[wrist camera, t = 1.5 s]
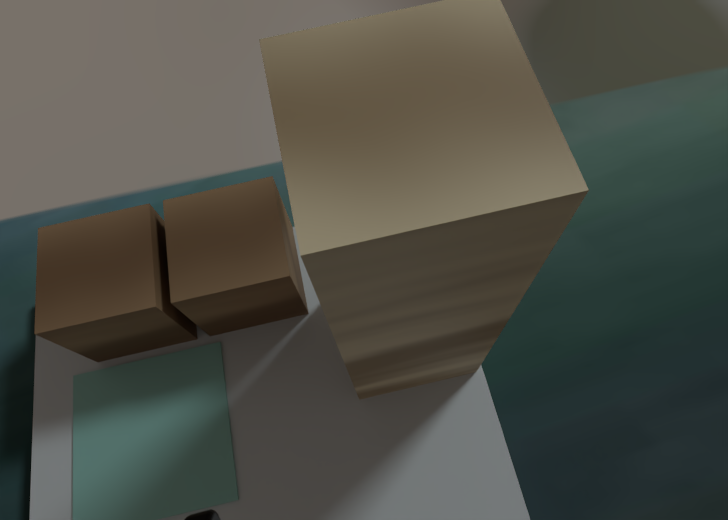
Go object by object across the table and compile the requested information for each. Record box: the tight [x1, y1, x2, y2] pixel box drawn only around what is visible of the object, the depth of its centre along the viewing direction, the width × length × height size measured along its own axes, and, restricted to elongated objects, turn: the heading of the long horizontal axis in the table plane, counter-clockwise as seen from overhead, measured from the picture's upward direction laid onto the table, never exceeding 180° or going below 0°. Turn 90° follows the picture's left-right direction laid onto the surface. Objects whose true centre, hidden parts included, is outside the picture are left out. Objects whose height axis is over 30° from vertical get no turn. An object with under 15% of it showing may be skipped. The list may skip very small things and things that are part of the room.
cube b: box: [163, 177, 309, 336], centre depth 20 cm, size 4×4×4 cm
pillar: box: [259, 0, 589, 400], centre depth 15 cm, size 4×4×13 cm
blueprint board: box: [29, 227, 530, 520], centre depth 19 cm, size 22×17×1 cm
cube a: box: [34, 204, 198, 362], centre depth 20 cm, size 4×4×4 cm
